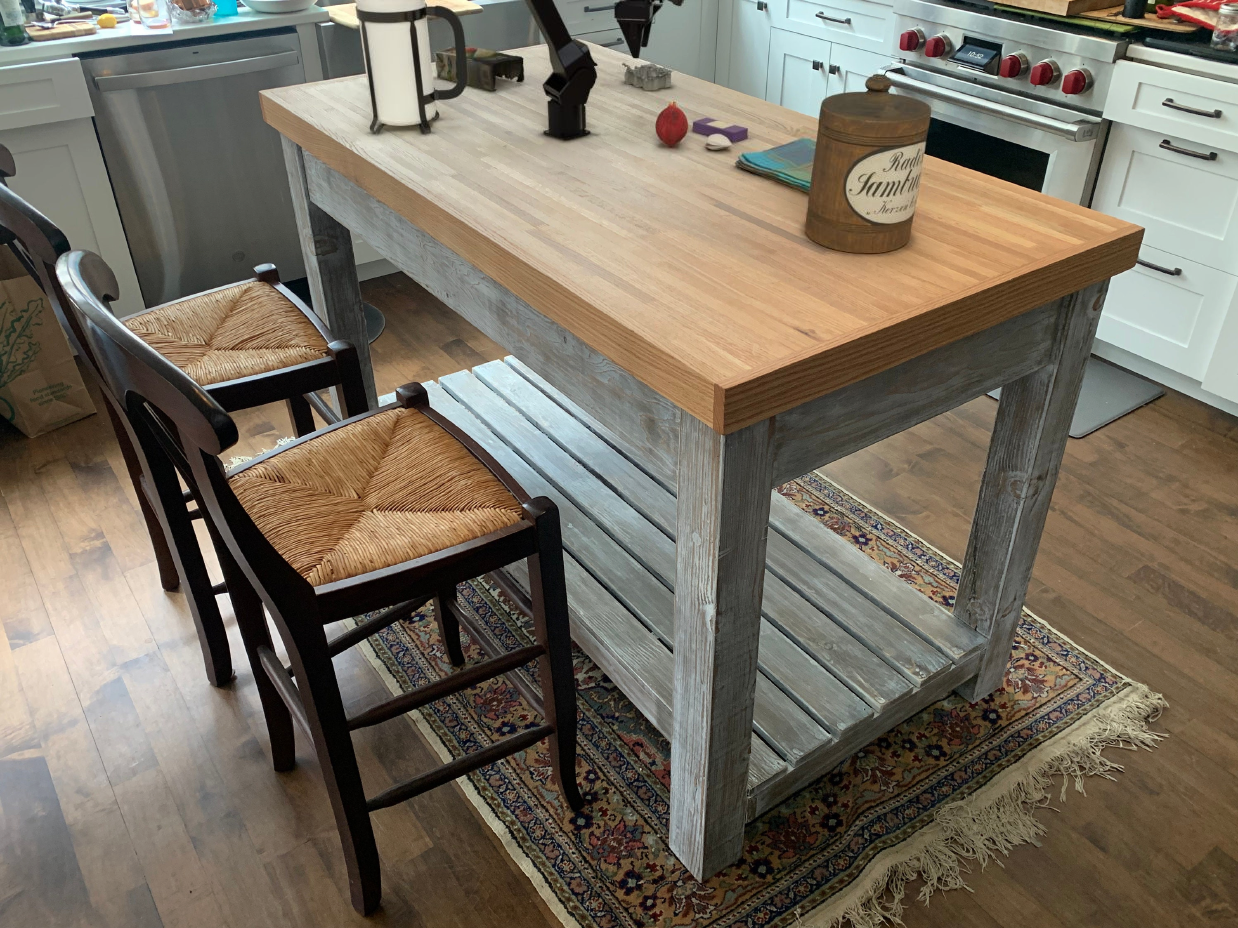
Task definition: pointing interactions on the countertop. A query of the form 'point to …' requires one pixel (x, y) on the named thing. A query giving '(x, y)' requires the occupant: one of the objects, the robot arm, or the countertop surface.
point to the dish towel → (783, 163)
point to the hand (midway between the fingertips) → (640, 52)
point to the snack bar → (720, 129)
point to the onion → (671, 125)
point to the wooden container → (867, 169)
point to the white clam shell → (717, 142)
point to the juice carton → (480, 66)
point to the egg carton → (648, 76)
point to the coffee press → (404, 61)
